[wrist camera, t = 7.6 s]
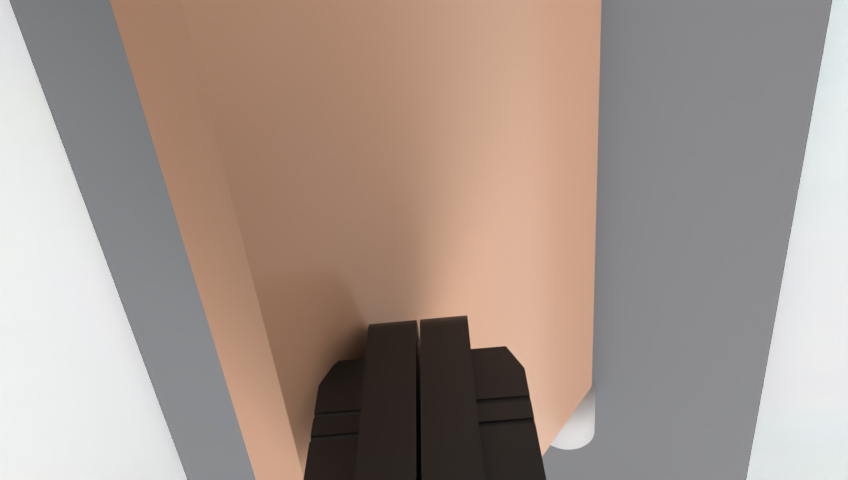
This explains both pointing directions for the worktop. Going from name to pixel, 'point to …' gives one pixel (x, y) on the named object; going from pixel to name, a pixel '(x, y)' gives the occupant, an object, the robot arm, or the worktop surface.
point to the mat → (614, 245)
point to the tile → (376, 185)
